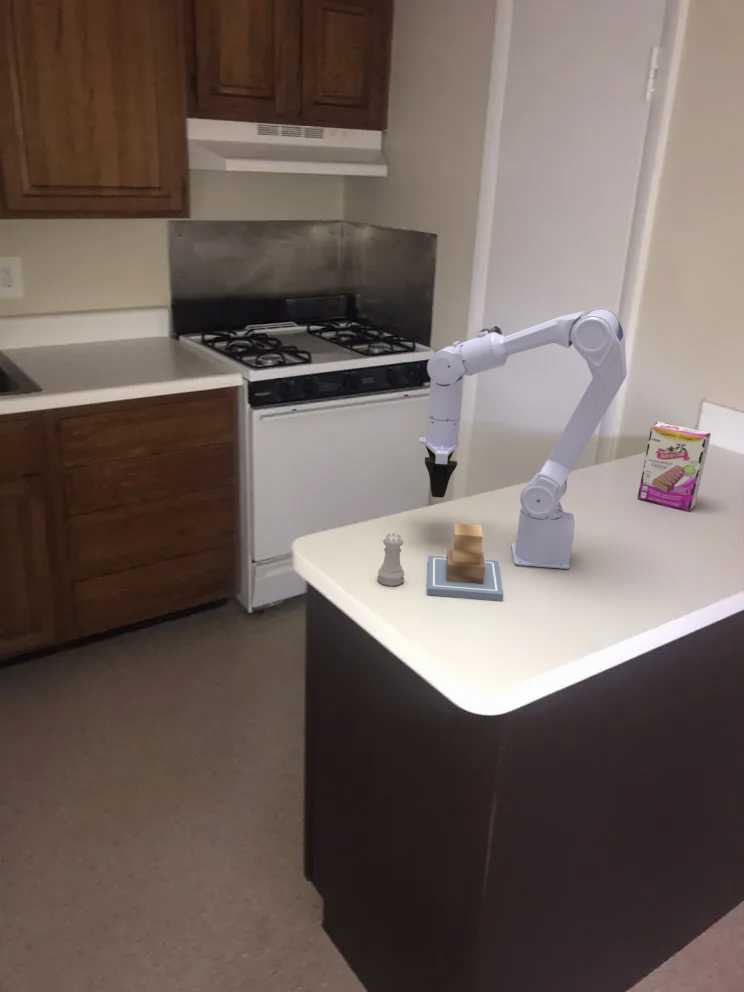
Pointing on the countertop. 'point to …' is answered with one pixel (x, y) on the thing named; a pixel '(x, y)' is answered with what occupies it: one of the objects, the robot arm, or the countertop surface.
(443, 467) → the robot arm
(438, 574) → the board
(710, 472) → the countertop surface
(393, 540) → the rook chess piece
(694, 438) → the candy bar box
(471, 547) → the oak block
